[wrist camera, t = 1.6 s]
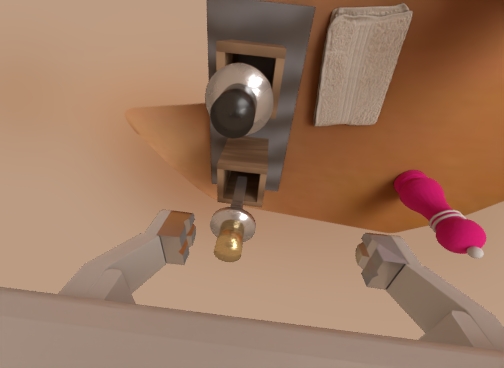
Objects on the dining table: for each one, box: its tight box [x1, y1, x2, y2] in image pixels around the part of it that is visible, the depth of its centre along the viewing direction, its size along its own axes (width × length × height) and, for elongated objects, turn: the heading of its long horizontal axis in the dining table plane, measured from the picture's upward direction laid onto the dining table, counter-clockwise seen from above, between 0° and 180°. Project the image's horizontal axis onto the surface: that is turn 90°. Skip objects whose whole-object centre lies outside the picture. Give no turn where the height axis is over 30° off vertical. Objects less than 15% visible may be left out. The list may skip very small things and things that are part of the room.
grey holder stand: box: [207, 0, 316, 207], centre depth 36 cm, size 34×16×14 cm, turn 175°
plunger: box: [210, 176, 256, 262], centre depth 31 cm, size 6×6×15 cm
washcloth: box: [314, 3, 413, 127], centre depth 35 cm, size 12×18×3 cm, turn 2°
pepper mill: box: [394, 170, 486, 258], centre depth 39 cm, size 7×7×20 cm
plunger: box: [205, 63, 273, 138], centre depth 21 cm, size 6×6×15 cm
